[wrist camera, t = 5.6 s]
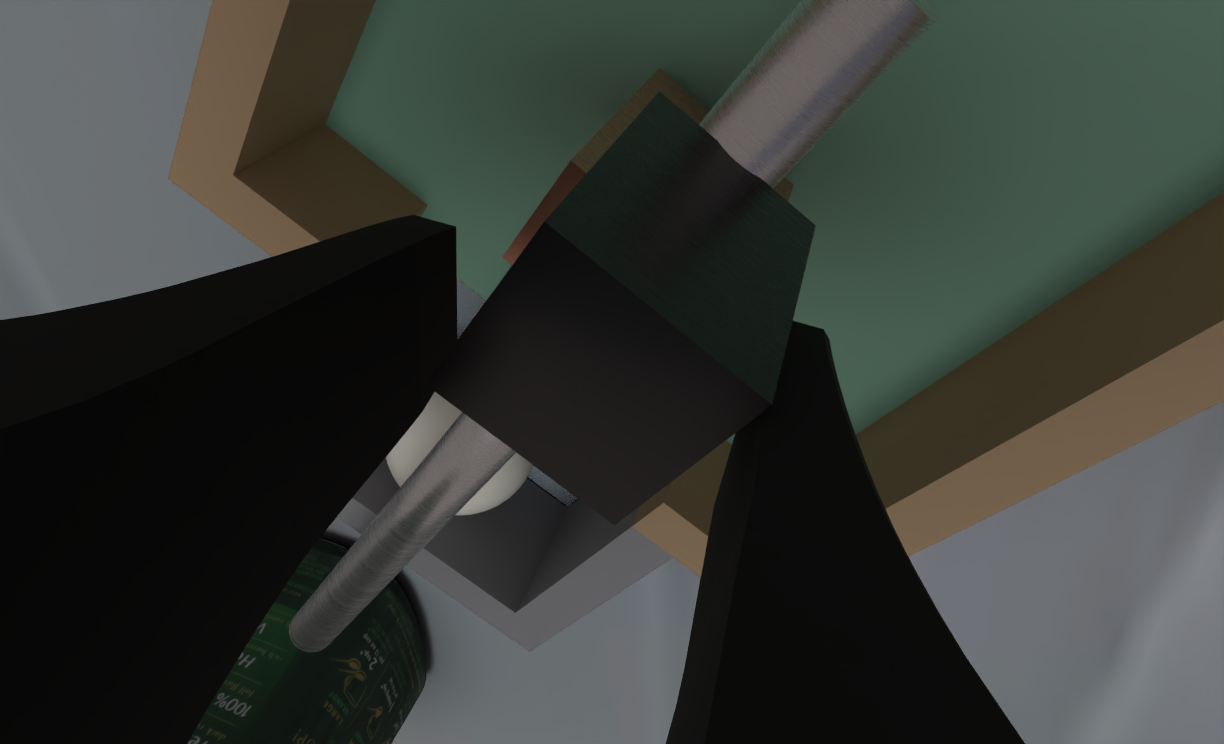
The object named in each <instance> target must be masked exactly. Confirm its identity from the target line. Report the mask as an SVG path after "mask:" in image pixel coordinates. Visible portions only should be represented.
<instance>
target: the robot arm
mask: <svg viewBox="0 0 1224 744" xmlns="http://www.w3.org/2000/svg"><path fill="white" fill-rule="evenodd" d="M456 342H457V252H456V226H452V225H449V224H445V223H442V222H438V221H434V220H431V219H427V218H424V217H420V216H416V215H409V216H404V217H399V218H395V219H391V220H388V221H384V222H381V223H377V224H374V225H370V226H367V227H364V228H361V229H357V230H354V231H351V232H348V233H345V234H342V235H339V236H335V237H332V238H329V239H326V240H323V241H320V242H317V243H314V244H311V245H308V246H304V247H301V248H298V249H295V250H292V251H289V252H286V253H283V254H280V255H276V256H273V257H270V258H267V259H264V260H261V261H257V262H254V263H251V264H247V265H244V266H240V267H236V268H233V269H229V270H226V271H222V272H219V273H215V274H212V275H208V276H205V277H201V278H198V279H194V280H191V281H187V282H184V283H180V284H177V285H173V286H169V287H165V288H161V289H157V290H153V291H149V292H145V293H141V294H137V295H132V296H128V297H124V298H119V299H115V300H110V301H105V302H100V303H95V304H90V305H85V306H81V307H76V308H71V309H66V310H61V311H55V312H50V313H44V314H39V315H33V316H26V317H19V318H12V319H6V320H0V744H187V743H188V741H189V740H190V738H191V736H192V735H193V733H194V731H195V729H196V728H197V726H198V724H199V722H200V721H201V719H202V717H203V716H204V714H205V712H206V710H207V709H208V707H209V705H210V704H211V702H212V700H213V699H214V697H215V695H216V694H217V692H218V691H219V689H220V687H221V686H222V684H223V683H224V681H225V679H226V678H227V676H228V674H229V673H230V671H231V670H232V668H233V666H234V665H235V663H236V662H237V660H238V658H239V657H240V655H241V654H242V652H243V650H244V649H245V647H246V645H247V644H248V642H249V641H250V639H251V637H252V636H253V634H254V633H255V631H256V629H257V628H258V626H259V625H260V623H261V622H262V620H263V619H264V617H265V616H266V614H267V613H268V611H269V610H270V608H271V607H272V605H273V604H274V602H275V601H276V599H277V598H278V596H279V595H280V593H281V592H282V590H283V589H284V587H285V586H286V584H287V582H288V581H289V579H290V578H291V576H292V575H293V573H294V572H295V570H296V569H297V567H298V566H299V564H300V563H301V562H302V560H303V559H304V558H305V556H306V555H307V554H308V553H309V551H310V550H311V549H312V547H313V546H314V545H315V543H316V542H317V541H318V539H319V538H320V537H321V535H322V534H323V533H324V532H325V530H326V529H327V528H328V527H329V526H330V524H331V523H332V522H333V521H334V520H335V518H336V517H337V516H338V515H339V513H340V512H341V511H342V510H343V509H344V507H345V506H346V505H347V504H348V503H349V501H350V500H351V499H352V498H353V497H354V495H355V494H356V493H357V492H358V490H359V489H360V488H361V487H362V486H363V484H364V483H365V482H366V481H367V480H368V478H369V477H370V476H371V475H372V473H373V472H374V471H375V470H376V469H377V467H378V466H379V465H380V464H381V463H382V461H383V460H384V459H385V458H386V457H387V455H388V454H389V453H390V452H391V450H392V449H393V448H394V447H395V445H396V444H397V443H398V442H399V440H400V439H401V438H402V437H403V436H404V434H405V433H406V432H407V431H408V429H409V428H410V427H411V426H412V424H413V423H414V422H415V421H416V419H417V418H418V417H419V415H420V414H421V413H422V412H423V410H424V408H425V407H426V405H427V404H428V402H429V400H430V399H431V397H432V396H433V394H434V392H435V391H433V390H432V389H431V388H429V387H428V386H427V385H425V384H426V383H427V381H428V380H429V379H430V377H431V376H432V375H433V373H434V372H435V370H436V369H437V368H438V366H439V365H440V364H441V362H442V361H443V359H444V358H445V357H446V355H447V354H448V353H449V351H450V350H451V349H452V347H453V346H454V344H455V343H456ZM666 744H1025V743H1024V742H1023V740H1022V739H1021V737H1020V736H1019V734H1018V733H1017V731H1016V730H1015V728H1014V727H1013V725H1012V724H1011V722H1010V721H1009V720H1008V718H1007V717H1006V715H1005V714H1004V712H1003V711H1002V709H1001V708H1000V706H999V705H998V703H997V702H996V700H995V699H994V698H993V696H992V695H991V693H990V692H989V690H988V689H987V687H986V686H985V684H984V683H983V681H982V680H981V678H980V677H979V676H978V674H977V673H976V671H975V670H974V668H973V667H972V665H971V664H970V662H969V661H968V659H967V658H966V656H965V655H964V653H963V652H962V650H961V648H960V647H959V645H958V643H957V642H956V640H955V638H954V637H953V635H952V633H951V632H950V630H949V628H948V627H947V625H946V623H945V622H944V620H943V618H942V617H941V615H940V613H939V612H938V610H937V608H936V607H935V605H934V603H933V601H932V599H931V598H930V596H929V594H928V592H927V590H926V589H925V587H924V585H923V583H922V581H921V580H920V578H919V576H918V574H917V572H916V570H915V569H914V567H913V565H912V563H911V561H910V559H909V557H908V555H907V553H906V551H905V549H904V547H903V545H902V543H901V541H900V539H899V537H898V535H897V533H896V531H895V529H894V527H893V524H892V522H891V520H890V518H889V516H888V513H887V511H886V509H885V507H884V504H883V502H882V500H881V498H880V496H879V493H878V491H877V489H876V486H875V484H874V481H873V479H872V477H871V474H870V472H869V469H868V467H867V464H866V462H865V459H864V456H863V453H862V451H861V448H860V445H859V442H858V440H857V437H856V434H855V431H854V429H853V426H852V423H851V420H850V417H849V414H848V411H847V408H846V405H845V402H844V398H843V395H842V391H841V388H840V384H839V381H838V377H837V373H836V369H835V365H834V361H833V356H832V351H831V345H830V340H829V338H828V336H827V334H826V332H825V331H824V329H821V328H818V327H814V326H810V325H807V324H803V323H800V322H796V321H792V326H791V330H790V334H789V338H788V342H787V346H786V350H785V354H784V358H783V363H782V367H781V371H780V375H779V379H778V383H777V387H776V391H775V395H774V400H773V404H772V406H770V407H769V408H768V409H766V410H765V411H764V412H762V413H761V414H760V415H759V416H757V417H756V418H755V419H753V420H752V421H751V422H749V423H748V424H747V425H745V426H744V427H743V428H741V429H740V430H739V431H738V432H736V433H735V436H734V439H733V443H732V446H731V449H730V453H729V456H728V460H727V463H726V466H725V470H724V473H723V477H722V480H721V483H720V487H719V490H718V494H717V497H716V500H715V504H714V508H713V513H712V518H711V524H710V529H709V535H708V540H707V546H706V552H705V557H704V563H703V568H702V574H701V579H700V585H699V591H698V596H697V602H696V607H695V613H694V618H693V624H692V630H691V635H690V641H689V646H688V652H687V658H686V663H685V669H684V673H683V678H682V682H681V687H680V691H679V696H678V700H677V705H676V709H675V712H674V716H673V719H672V723H671V727H670V730H669V734H668V738H667V741H666Z"/></svg>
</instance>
